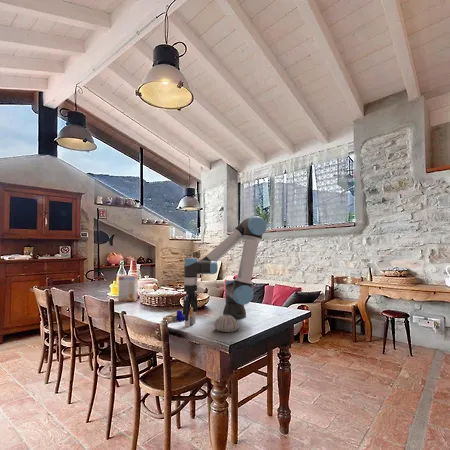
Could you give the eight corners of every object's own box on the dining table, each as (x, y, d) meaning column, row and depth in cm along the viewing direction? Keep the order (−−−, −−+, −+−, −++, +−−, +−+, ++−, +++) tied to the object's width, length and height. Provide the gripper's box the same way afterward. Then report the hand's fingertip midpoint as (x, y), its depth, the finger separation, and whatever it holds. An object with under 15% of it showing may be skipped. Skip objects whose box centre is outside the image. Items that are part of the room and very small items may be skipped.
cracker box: (137, 300, 244) (137, 275, 246) (134, 302, 238) (134, 276, 240) (121, 300, 246) (122, 275, 247) (118, 301, 240) (118, 275, 241)
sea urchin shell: (225, 325, 169) (225, 311, 170) (244, 329, 160) (243, 314, 161) (209, 330, 159) (209, 315, 160) (227, 335, 150) (227, 319, 151)
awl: (193, 324, 170) (193, 307, 171) (191, 325, 168) (191, 308, 168) (189, 324, 171) (189, 306, 172) (187, 325, 169) (187, 307, 169)
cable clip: (182, 321, 178) (182, 311, 178) (176, 320, 180) (176, 310, 181) (194, 317, 188) (194, 307, 189) (188, 316, 190) (188, 307, 191)
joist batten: (186, 315, 192) (186, 311, 192) (170, 323, 173) (170, 318, 173) (179, 315, 194) (179, 310, 194) (162, 322, 175) (162, 317, 175)
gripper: (188, 287, 160) (188, 329, 159) (203, 282, 179) (203, 321, 177) (176, 286, 163) (175, 328, 162) (192, 282, 182) (192, 320, 180)
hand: (190, 324), depth 169 cm, fingers open, 7 cm apart
